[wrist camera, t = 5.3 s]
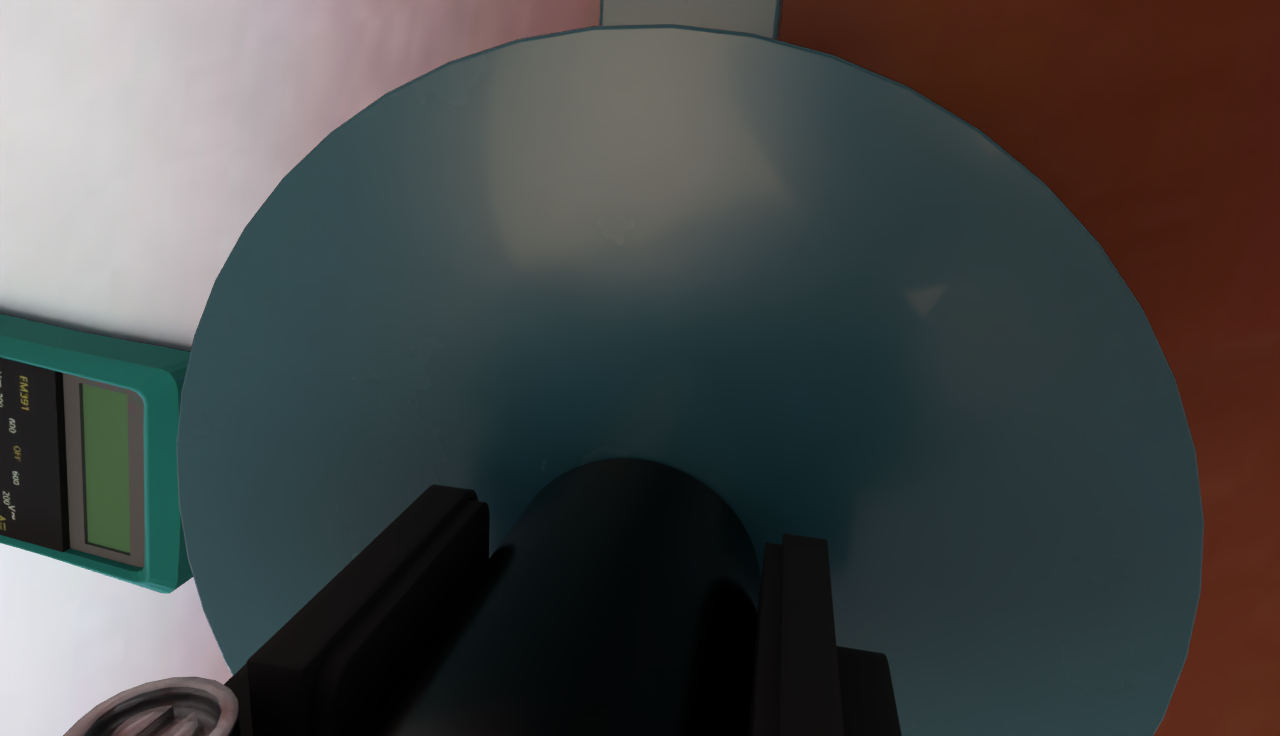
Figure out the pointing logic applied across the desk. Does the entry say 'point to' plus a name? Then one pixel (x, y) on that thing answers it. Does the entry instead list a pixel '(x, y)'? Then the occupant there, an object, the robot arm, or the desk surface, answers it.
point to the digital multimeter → (92, 452)
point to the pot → (697, 14)
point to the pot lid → (696, 396)
